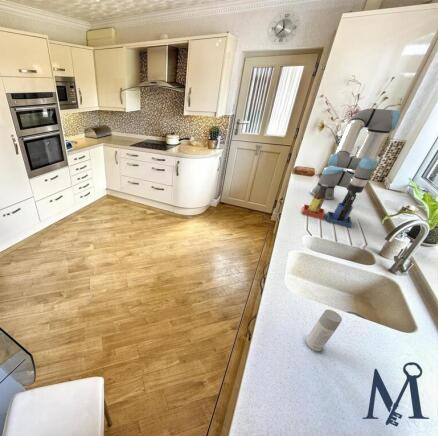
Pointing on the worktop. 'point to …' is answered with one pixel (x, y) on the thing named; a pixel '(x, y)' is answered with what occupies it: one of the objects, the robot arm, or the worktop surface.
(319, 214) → the red tray
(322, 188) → the sauce bottle
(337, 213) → the blue cup
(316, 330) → the container
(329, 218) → the blue tray
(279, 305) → the worktop surface
